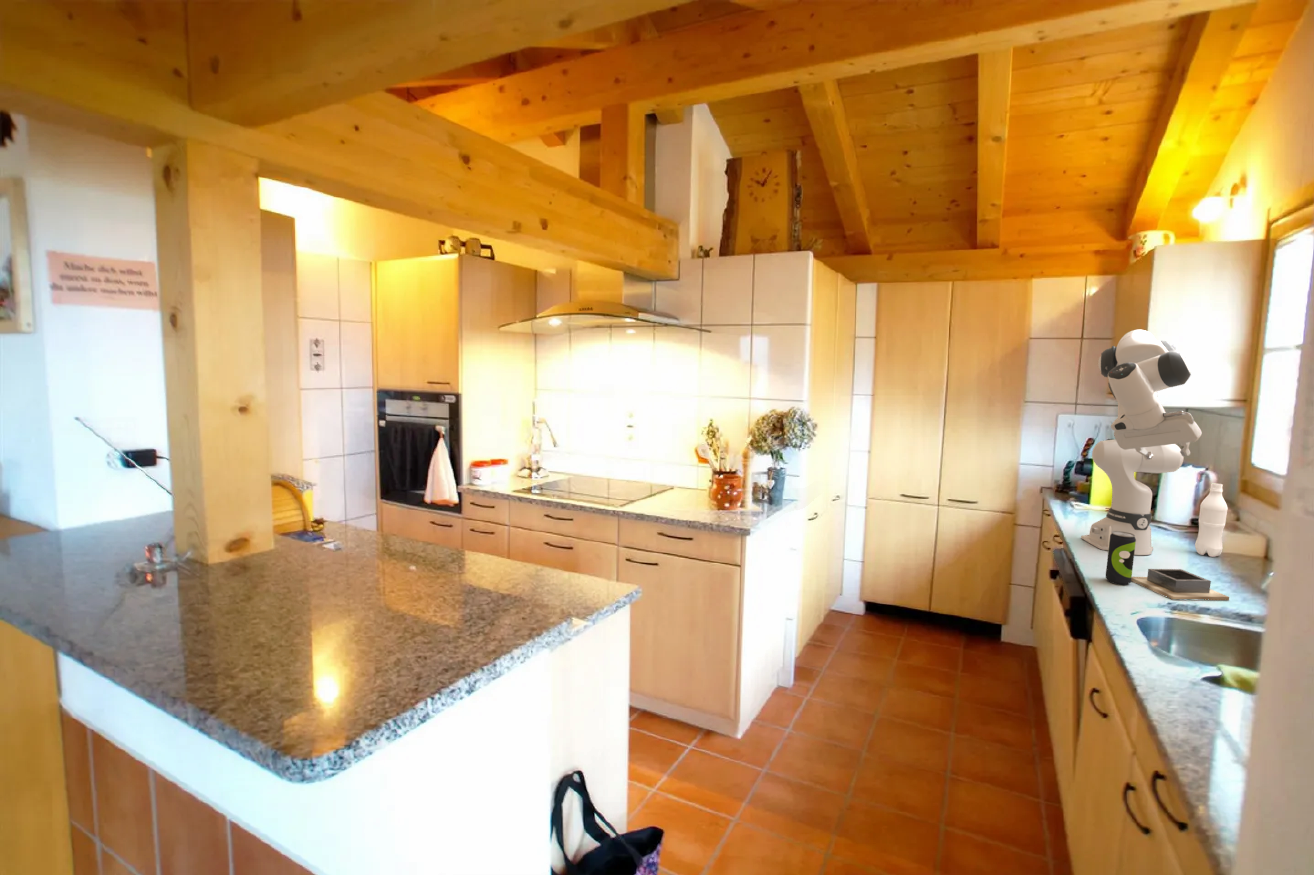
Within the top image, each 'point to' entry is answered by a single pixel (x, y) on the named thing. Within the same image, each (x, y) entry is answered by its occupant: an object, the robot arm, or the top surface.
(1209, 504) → the water bottle
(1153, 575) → the gray open box
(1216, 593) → the docking plate
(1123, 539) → the beverage can
